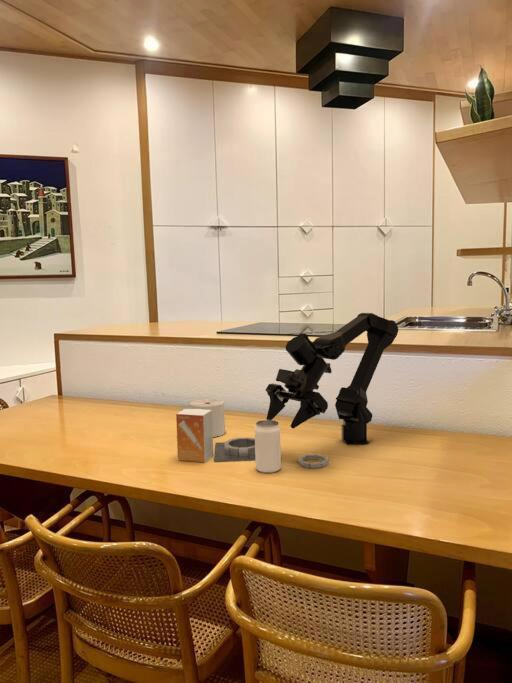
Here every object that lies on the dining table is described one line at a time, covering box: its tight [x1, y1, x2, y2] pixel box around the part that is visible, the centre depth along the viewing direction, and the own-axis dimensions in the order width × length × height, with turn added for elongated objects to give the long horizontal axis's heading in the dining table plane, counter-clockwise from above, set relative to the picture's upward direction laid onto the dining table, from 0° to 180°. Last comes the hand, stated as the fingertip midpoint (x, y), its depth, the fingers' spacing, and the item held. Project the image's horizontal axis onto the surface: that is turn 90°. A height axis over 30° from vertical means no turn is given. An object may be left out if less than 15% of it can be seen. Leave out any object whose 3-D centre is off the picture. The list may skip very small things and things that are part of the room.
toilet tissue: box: [180, 398, 226, 438], centre depth 166 cm, size 11×12×10 cm
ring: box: [297, 453, 330, 469], centre depth 137 cm, size 8×8×1 cm
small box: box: [175, 409, 214, 463], centre depth 143 cm, size 8×6×13 cm
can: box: [254, 419, 282, 474], centre depth 133 cm, size 6×6×12 cm
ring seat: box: [213, 436, 255, 463], centre depth 148 cm, size 18×16×2 cm
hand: (279, 424), depth 135 cm, fingers open, 9 cm apart
